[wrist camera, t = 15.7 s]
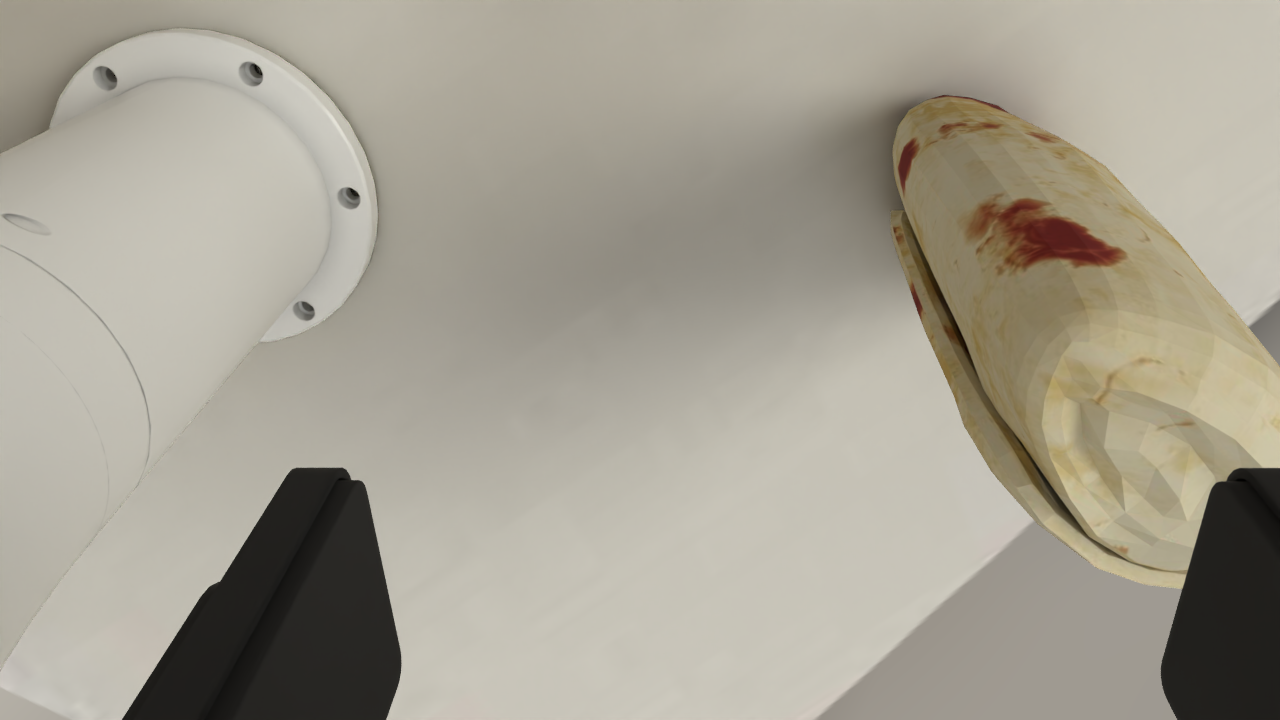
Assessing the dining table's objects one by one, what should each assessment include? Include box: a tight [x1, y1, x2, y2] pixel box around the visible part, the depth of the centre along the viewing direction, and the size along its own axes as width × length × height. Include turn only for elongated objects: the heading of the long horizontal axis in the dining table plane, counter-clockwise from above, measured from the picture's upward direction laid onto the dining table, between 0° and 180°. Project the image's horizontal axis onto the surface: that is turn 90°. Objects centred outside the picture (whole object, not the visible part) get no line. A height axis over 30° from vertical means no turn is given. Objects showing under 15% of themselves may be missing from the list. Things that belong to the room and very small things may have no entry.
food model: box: [891, 95, 1280, 589], centre depth 29 cm, size 10×7×20 cm
